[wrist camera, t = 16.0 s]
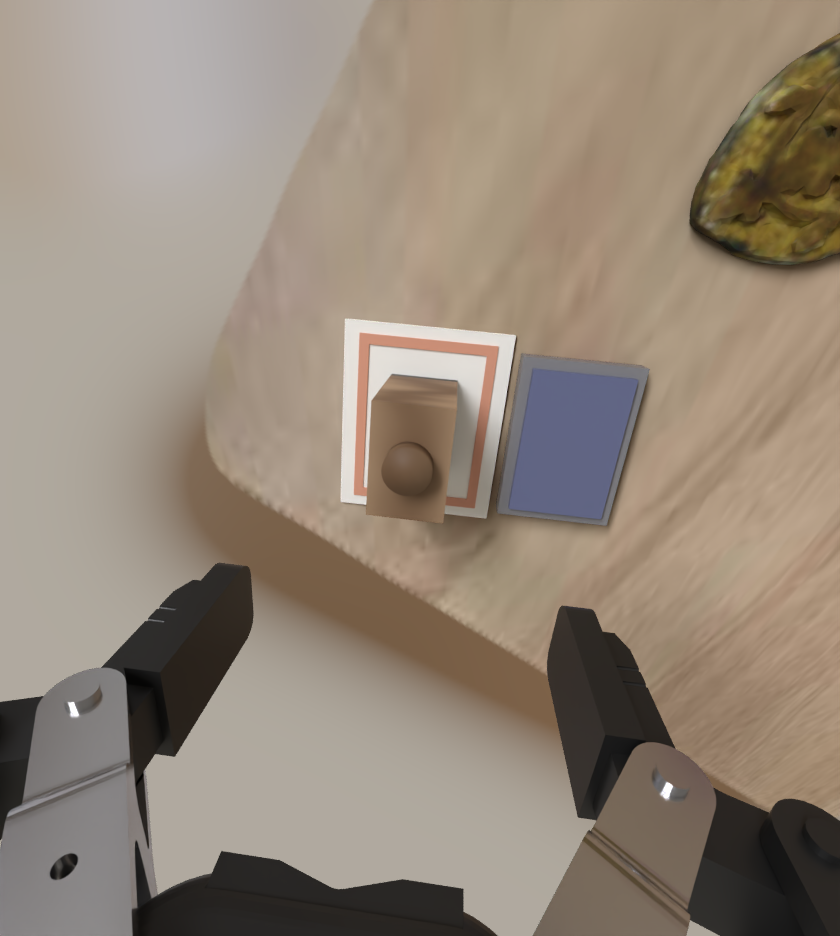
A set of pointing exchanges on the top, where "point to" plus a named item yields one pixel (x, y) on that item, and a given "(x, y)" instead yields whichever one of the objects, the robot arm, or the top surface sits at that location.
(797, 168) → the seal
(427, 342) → the paper sheet
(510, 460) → the ink pad
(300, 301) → the top surface
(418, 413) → the stamp
